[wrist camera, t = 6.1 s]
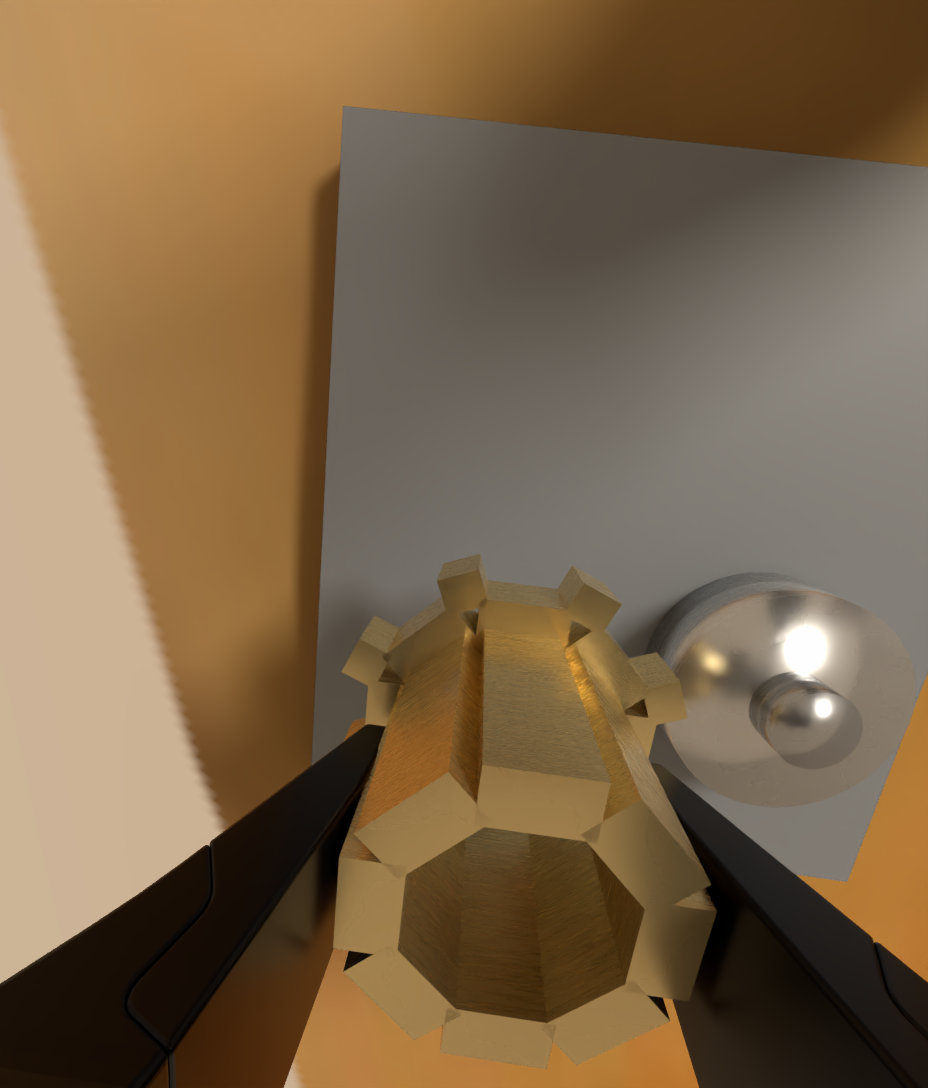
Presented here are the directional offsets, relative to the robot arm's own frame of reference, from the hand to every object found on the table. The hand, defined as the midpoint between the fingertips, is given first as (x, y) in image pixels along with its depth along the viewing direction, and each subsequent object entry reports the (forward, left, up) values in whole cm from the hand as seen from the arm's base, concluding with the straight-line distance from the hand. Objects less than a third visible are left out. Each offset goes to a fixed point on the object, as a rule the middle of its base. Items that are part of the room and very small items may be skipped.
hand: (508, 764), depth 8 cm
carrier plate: (-3, -3, -7) cm, 8 cm away
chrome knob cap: (-7, 0, -6) cm, 9 cm away
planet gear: (0, 0, -2) cm, 2 cm away
